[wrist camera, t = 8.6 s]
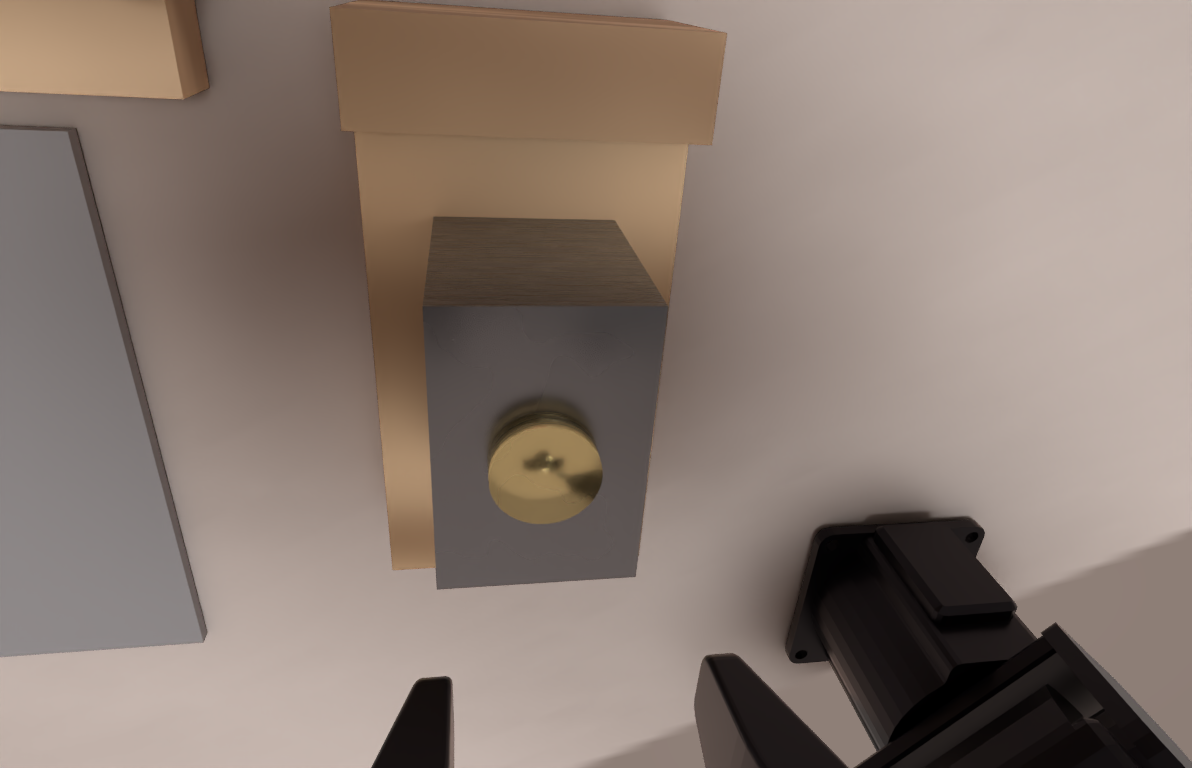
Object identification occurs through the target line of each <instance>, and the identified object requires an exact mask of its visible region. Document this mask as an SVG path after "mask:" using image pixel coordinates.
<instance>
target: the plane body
mask: <svg viewBox="0 0 1192 768" xmlns="http://www.w3.org/2000/svg"><path fill="white" fill-rule="evenodd" d="M329 8H330V18H331V28H332V39H333V49H334V60H335V70H336V81H337V91H338V102H339V112H340V122H341V131H354V136H355V147H356V159H357V170H358V182H359V193H360V204H361V216H362V227H363V238H364V250H365V261H366V273H367V284H368V295H369V307H370V318H371V330H372V341H373V352H374V364H375V375H376V387H377V398H378V409H379V421H380V432H381V443H382V455H383V466H384V478H385V489H386V500H387V512H388V523H389V535H390V546H391V557H392V569H393V570H404V569H421V568H436V563H435V544H434V524H433V504H432V485H431V465H430V445H429V426H428V406H427V386H426V367H425V347H424V327H423V308H422V306H423V298H424V290H425V281H426V273H427V265H428V257H429V249H430V241H431V233H432V224H433V216H437V217H487V218H537V219H587V220H615V221H616V223H617V224H618V226H619V227H620V229H621V231H622V232H623V234H624V236H625V237H626V239H627V240H628V242H629V244H630V245H631V247H632V248H633V250H634V252H635V253H636V255H637V257H638V258H639V260H640V261H641V263H642V265H643V266H644V268H645V269H646V271H647V273H648V274H649V276H650V278H651V279H652V281H653V282H654V284H655V286H656V287H657V289H658V290H659V292H660V294H661V295H662V297H663V299H664V300H665V302H666V303H667V305H668V309H669V301H670V293H671V285H672V276H673V268H674V260H675V252H676V243H677V235H678V227H679V219H680V211H681V202H682V194H683V186H684V178H685V169H686V161H687V153H688V145H689V144H694V145H712V141H713V133H714V126H715V119H716V111H717V104H718V97H719V89H720V82H721V74H722V67H723V60H724V52H725V45H726V38H727V33H724V32H719V31H715V30H710V29H706V28H701V27H697V26H692V25H688V24H683V23H679V22H674V21H669V20H660V19H645V18H630V17H615V16H600V15H586V14H571V13H556V12H541V11H526V10H512V9H497V8H482V7H467V6H452V5H437V4H423V3H408V2H393V1H378V0H357V1H353V2H349V3H345V4H341V5H337V6H333V7H329ZM667 318H668V313H667ZM666 326H667V321H666ZM665 334H666V330H665ZM664 342H665V338H664ZM663 350H664V346H663ZM662 359H663V354H662ZM661 367H662V363H661ZM660 375H661V371H660ZM659 383H660V379H659ZM658 392H659V387H658ZM657 400H658V396H657ZM656 408H657V404H656ZM655 416H656V412H655ZM654 425H655V421H654ZM653 433H654V429H653ZM652 441H653V437H652ZM651 449H652V445H651ZM650 458H651V454H650ZM649 466H650V462H649ZM648 474H649V470H648ZM647 482H648V478H647ZM646 490H647V487H646ZM645 499H646V495H645ZM644 507H645V503H644ZM643 515H644V511H643ZM642 523H643V520H642ZM641 532H642V528H641ZM640 540H641V536H640ZM639 548H640V544H639ZM638 556H639V553H638Z"/></svg>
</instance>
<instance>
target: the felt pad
mask: <svg viewBox="0 0 1192 768" xmlns="http://www.w3.org/2000/svg"><path fill="white" fill-rule="evenodd" d="M206 635H207V630H206V626H205V623H204V619H203V615H202V611H201V607H200V603H199V600H198V596H197V592H196V588H195V584H194V580H193V577H192V573H191V569H190V565H189V561H188V557H187V554H186V550H185V546H184V542H183V538H182V534H181V531H180V527H179V523H178V519H177V515H176V511H175V508H174V504H173V500H172V496H171V492H170V488H169V485H168V481H167V477H166V473H165V469H164V465H163V462H162V458H161V454H160V450H159V446H158V442H157V439H156V435H155V431H154V427H153V423H152V419H151V416H150V412H149V408H148V404H147V400H146V396H145V393H144V389H143V385H142V381H141V377H140V373H139V370H138V366H137V362H136V358H135V354H134V350H133V347H132V343H131V339H130V335H129V331H128V327H127V324H126V320H125V316H124V312H123V308H122V304H121V301H120V297H119V293H118V289H117V285H116V281H115V278H114V274H113V270H112V266H111V262H110V258H109V255H108V251H107V247H106V243H105V239H104V235H103V232H102V228H101V224H100V220H99V216H98V212H97V209H96V205H95V201H94V197H93V193H92V189H91V186H90V182H89V178H88V174H87V170H86V166H85V163H84V159H83V155H82V151H81V147H80V143H79V139H78V136H77V132H76V128H55V127H28V126H1V125H0V657H8V656H22V655H36V654H50V653H64V652H78V651H92V650H106V649H120V648H134V647H148V646H162V645H176V644H190V643H204V640H205V637H206Z"/></svg>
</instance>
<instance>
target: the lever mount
mask: <svg viewBox="0 0 1192 768" xmlns="http://www.w3.org/2000/svg"><path fill="white" fill-rule="evenodd" d="M208 88H209V82H208V76H207V71H206V65H205V59H204V53H203V47H202V42H201V36H200V30H199V24H198V19H197V13H196V7H195V1H194V0H0V91H6V92H28V93H51V94H74V95H97V96H120V97H143V98H165V99H185V98H187V97H190V96H192V95H194V94H196V93H199V92H201V91H203V90H205V89H208Z"/></svg>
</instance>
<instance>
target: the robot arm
mask: <svg viewBox="0 0 1192 768" xmlns="http://www.w3.org/2000/svg"><path fill="white" fill-rule="evenodd" d="M984 534H985V532H984V529H983V528H982V527H981V526H980V525H979V524H978V523H977V522H976V521H974V520H954V521H936V522H918V523H899V524H881V525H863V526H844V527H829V528H825V529H823V530H821V531H820V532H819V533H818V534H817V535H816V537H815V539H814V542H813V546H812V549H811V553H810V557H809V561H808V565H807V568H806V572H805V576H804V580H803V583H802V587H801V591H800V595H799V598H798V602H797V606H796V610H795V613H794V617H793V621H792V625H791V628H790V632H789V636H788V640H787V643H786V647H785V651H786V653H787V655H788V657H789V659H790V661H791V662H793V663H810V662H821V661H829V662H830V664H831V666H832V668H833V670H834V672H835V674H836V676H837V677H838V679H839V681H840V683H841V685H842V687H843V689H844V691H845V692H846V694H847V696H848V698H849V700H850V702H851V704H852V706H853V707H854V709H855V711H856V713H857V715H858V717H859V719H860V721H861V722H862V724H863V726H864V728H865V730H866V732H867V734H868V736H869V737H870V739H871V741H872V743H873V745H874V747H875V749H876V751H877V752H876V753H874V754H873V755H871V756H870V757H868V758H867V759H866V760H864V761H863V762H861V763H860V764H858V765H857V766H856V767H854V768H1192V762H1191V761H1190V760H1189V758H1188V757H1187V756H1186V755H1185V754H1184V753H1183V752H1182V750H1181V749H1180V748H1179V747H1178V746H1177V744H1176V743H1175V742H1174V741H1173V740H1172V739H1171V738H1170V737H1169V736H1168V735H1167V734H1166V733H1165V732H1164V731H1163V729H1161V727H1160V726H1159V725H1158V724H1157V723H1156V722H1155V721H1154V720H1153V719H1152V718H1151V717H1150V716H1149V715H1148V714H1147V712H1146V711H1145V710H1144V709H1143V708H1142V707H1141V706H1140V705H1139V704H1138V703H1137V702H1136V701H1135V700H1134V699H1133V698H1132V697H1131V696H1130V694H1129V693H1128V692H1127V691H1126V690H1125V689H1124V688H1123V687H1122V686H1121V685H1120V684H1119V683H1118V682H1117V681H1116V680H1115V679H1114V678H1113V677H1112V676H1111V675H1110V674H1109V673H1108V672H1107V671H1106V670H1105V669H1104V668H1103V667H1102V666H1101V665H1100V664H1099V663H1098V662H1097V661H1096V660H1094V659H1093V658H1092V657H1091V656H1090V655H1089V654H1088V653H1087V652H1086V651H1085V650H1084V649H1083V648H1082V647H1081V646H1080V645H1079V644H1078V643H1077V642H1076V641H1075V640H1073V638H1071V636H1070V635H1069V634H1067V633H1066V632H1065V631H1064V630H1063V629H1062V628H1061V627H1060V626H1059V625H1058V624H1057V623H1056V622H1055V623H1054V624H1052V625H1051V626H1050V627H1048V628H1047V629H1045V630H1044V631H1042V632H1041V634H1042V635H1043V636H1041V637H1040V638H1038V639H1037V638H1036V637H1035V636H1034V635H1033V633H1032V632H1031V631H1030V630H1029V629H1028V628H1027V627H1026V625H1025V624H1024V623H1023V622H1022V621H1021V620H1020V618H1019V617H1018V616H1017V615H1016V614H1015V612H1016V610H1017V605H1016V603H1015V602H1014V601H1013V600H1012V598H1011V597H1010V596H1009V595H1008V594H1007V593H1006V592H1005V591H1004V589H1003V588H1002V587H1001V586H1000V585H999V584H998V583H997V581H996V580H995V579H994V578H993V577H992V576H991V575H990V573H989V572H988V571H987V570H986V569H985V568H984V567H983V566H982V564H981V563H980V562H979V561H978V560H977V559H976V555H977V553H978V550H979V548H980V545H981V543H982V540H983V538H984ZM829 541H831V542H830V543H828V542H829ZM694 709H695V718H696V723H697V728H698V733H699V738H700V742H701V747H702V752H703V757H704V762H705V767H706V768H848V767H847V766H846V765H845V764H844V763H843V762H842V761H841V760H840V758H839V757H838V756H837V755H836V754H834V752H833V751H832V750H831V749H830V748H829V747H828V746H827V745H826V744H825V743H824V742H823V741H822V740H821V739H820V738H819V737H818V736H817V735H816V734H815V733H814V732H813V731H812V730H811V729H810V728H809V727H808V726H807V725H806V724H805V723H804V722H803V721H802V720H801V719H800V718H799V717H798V716H797V715H796V714H795V713H794V712H793V711H792V710H791V709H790V708H789V707H788V706H787V705H786V704H785V703H784V702H783V701H782V700H781V698H780V697H779V696H778V695H777V694H776V693H775V692H774V691H773V690H772V689H771V688H770V687H769V686H768V685H767V684H766V683H765V682H764V681H763V680H762V679H761V678H760V677H759V676H758V675H757V674H756V673H755V672H754V671H753V670H752V669H751V668H750V667H749V666H748V665H747V664H746V663H745V662H744V661H743V660H742V659H741V658H740V657H739V656H737V655H735V654H732V653H726V654H714V655H707V656H705V657H704V659H703V660H702V663H701V668H700V673H699V678H698V683H697V689H696V694H695V700H694ZM371 768H454V710H453V685H452V680H451V678H449V677H447V676H443V677H430V678H421V679H419V680H417V681H416V683H415V684H414V685H413V687H412V689H411V691H410V693H409V695H408V697H407V699H406V701H405V703H404V705H403V707H402V708H401V710H400V712H399V714H398V716H397V718H396V720H395V722H394V724H393V726H392V728H391V730H390V732H389V734H388V736H387V738H386V740H385V742H384V744H383V746H382V748H381V750H380V752H379V754H378V755H377V757H376V759H375V761H374V763H373V765H372V767H371Z"/></svg>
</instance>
